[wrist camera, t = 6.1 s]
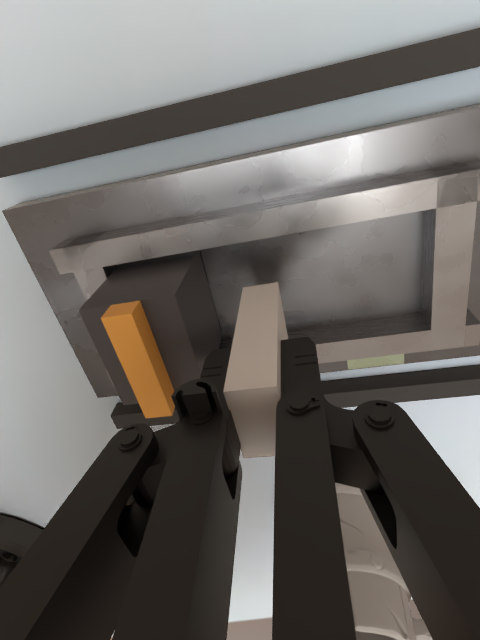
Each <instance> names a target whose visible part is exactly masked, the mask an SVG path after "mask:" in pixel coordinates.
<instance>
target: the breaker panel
mask: <svg viewBox="0 0 480 640" xmlns="http://www.w3.org/2000/svg"><path fill="white" fill-rule="evenodd" d="M2 212H3V214H4V216H5V218H6V220H7V221H8V223H9V225H10V227H11V229H12V231H13V233H14V235H15V237H16V239H17V241H18V243H19V245H20V247H21V249H22V251H23V253H24V255H25V257H26V259H27V260H28V262H29V264H30V266H31V268H32V270H33V272H34V274H35V276H36V278H37V280H38V282H39V284H40V286H41V288H42V290H43V292H44V294H45V296H46V298H47V299H48V301H49V303H50V305H51V307H52V309H53V311H54V313H55V315H56V317H57V319H58V321H59V323H60V325H61V327H62V329H63V331H64V333H65V335H66V337H67V338H68V340H69V342H70V344H71V346H72V348H73V350H74V352H75V354H76V356H77V358H78V360H79V362H80V364H81V366H82V368H83V370H84V372H85V374H86V376H87V377H88V379H89V381H90V383H91V385H92V387H93V389H94V391H95V393H96V395H97V397H98V398H99V397H108V396H117V395H118V393H117V391H116V389H115V387H114V385H113V382H112V380H111V378H110V376H109V374H108V372H107V370H106V368H105V366H104V364H103V361H102V359H101V357H100V355H99V353H98V351H97V349H96V347H95V345H94V343H93V340H92V338H91V336H90V334H89V332H88V330H87V328H86V326H85V324H84V322H83V319H82V317H81V315H80V313H79V311H78V310H79V309H80V308H81V306H82V305H83V304H84V303H85V302H86V301H87V300H88V299H89V298H90V297H91V296H92V294H93V293H94V292H95V291H96V290H97V289H98V288H99V287H100V286H101V285H102V284H103V282H104V281H105V280H106V279H107V278H108V277H109V276H110V275H111V274H112V273H113V271H114V270H115V269H116V268H117V267H118V266H119V265H120V264H123V263H128V262H134V261H140V260H145V259H151V258H157V257H162V256H168V255H174V254H179V253H185V252H191V251H196V250H199V252H200V256H201V259H202V263H203V267H204V270H205V274H206V278H207V281H208V285H209V288H210V292H211V296H212V299H213V303H214V307H215V310H216V314H217V318H218V321H219V325H220V328H221V332H222V337H221V341H220V346H219V349H224V348H232V343H233V338H234V332H235V327H236V322H237V316H238V311H239V306H240V300H241V295H242V290H243V287H250V286H256V285H262V284H269V283H275V282H278V285H279V290H280V296H281V301H282V307H283V312H284V318H285V323H286V329H287V334H288V339H294V338H302V337H309V338H310V339H311V340H312V341H313V342H314V343H315V344H316V351H317V358H318V365H319V372H320V373H325V372H334V371H343V370H352V369H361V368H370V367H379V366H388V365H397V364H406V363H415V362H424V361H433V360H442V359H451V358H460V357H469V356H478V355H480V104H475V105H471V106H466V107H462V108H457V109H452V110H448V111H443V112H439V113H434V114H429V115H425V116H420V117H416V118H411V119H406V120H402V121H397V122H392V123H388V124H383V125H379V126H374V127H369V128H365V129H360V130H356V131H351V132H346V133H342V134H337V135H332V136H328V137H323V138H319V139H314V140H309V141H305V142H300V143H296V144H291V145H286V146H282V147H277V148H273V149H268V150H263V151H259V152H254V153H249V154H245V155H240V156H236V157H231V158H226V159H222V160H217V161H213V162H208V163H203V164H199V165H194V166H189V167H185V168H180V169H176V170H171V171H166V172H162V173H157V174H153V175H148V176H143V177H139V178H134V179H129V180H125V181H120V182H116V183H111V184H106V185H102V186H97V187H93V188H88V189H83V190H79V191H74V192H70V193H65V194H60V195H56V196H51V197H46V198H42V199H37V200H33V201H28V202H23V203H19V204H17V205H15V206H12V207H10V208H8V209H5V210H3V211H2Z"/></svg>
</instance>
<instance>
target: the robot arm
mask: <svg viewBox="0 0 480 640" xmlns="http://www.w3.org/2000/svg"><path fill="white" fill-rule="evenodd" d="M202 369H203V370H202V372H201V376H200V377H201V378H200V379H195V380H191V381H188V382H186V383H184V384H182V385H181V386H179V387H178V388H177V389H176V390H175V391H174V393H173V394H172V396H171V398H172V400H173V403H174V405H175V408H176V410H177V413H178V415H179V421H178V423H176V424H174V425H172V426H169V427H167V428H164V429H161V430H158V431H155V432H153V430H152V429H151V428H150V426H149V425H146V424H143V423H142V424H133V425H130V426H127V427H125V428H123V429H122V430H120V431H119V432H118V433H117V434H116V435H115V436H114V437H113V438H112V439H111V440H110V441H109V443H108V444H107V445H106V447H105V448H104V449H103V451H102V452H101V453H100V455H99V456H98V457H97V459H96V460H95V461H94V463H93V464H92V465H91V467H90V468H89V469H88V471H87V472H86V473H85V475H84V476H83V477H82V479H81V480H80V481H79V483H78V484H77V485H76V487H75V488H74V489H73V491H72V492H71V493H70V495H69V496H68V498H67V499H66V500H65V502H64V503H63V504H62V506H61V507H60V508H59V510H58V511H57V512H56V514H55V515H54V516H53V518H52V519H51V520H50V522H49V523H48V524H47V526H46V527H45V528H44V530H42V529H40V528H38V527H35V526H33V525H31V524H28V523H26V522H23V521H20V520H17V519H14V518H11V517H7V516H3V515H0V640H110V639H111V637H112V635H113V633H114V635H113V639H112V640H226V638H227V628H228V617H229V607H230V596H231V586H232V575H233V565H234V554H235V544H236V533H237V523H238V512H239V502H240V491H241V481H242V468H241V465H240V461H239V455H240V448H241V451H242V454H243V458H253V457H266V456H275V502H274V563H273V627H272V640H357V639H356V632H355V624H354V617H353V610H352V603H351V595H350V588H349V581H348V573H347V566H346V559H345V552H344V544H343V537H342V530H341V522H340V515H339V508H338V501H337V493H336V486H335V483H339V484H343V485H347V486H351V487H355V488H359V489H360V491H361V493H362V496H363V498H364V500H365V502H366V504H367V506H368V508H369V510H370V512H371V514H372V516H373V518H374V520H375V522H376V524H377V526H378V528H379V530H380V532H381V535H382V537H383V539H384V541H385V543H386V545H387V547H388V549H389V551H390V553H391V555H392V557H393V559H394V561H395V563H396V565H397V567H398V569H399V571H400V574H401V576H402V578H403V580H404V582H405V584H406V586H407V588H408V590H409V592H410V594H411V596H412V598H413V600H414V602H415V604H416V606H417V608H418V611H419V612H420V615H421V617H422V619H423V621H424V623H425V625H426V627H427V629H428V631H429V633H430V635H431V637H432V639H433V640H480V508H479V507H478V505H477V504H476V503H475V502H474V500H473V499H472V498H471V496H470V495H469V494H468V492H467V491H466V490H465V489H464V487H463V486H462V485H461V483H460V482H459V481H458V479H457V478H456V477H455V476H454V474H453V473H452V472H451V470H450V469H449V468H448V466H447V465H446V464H445V463H444V461H443V460H442V459H441V457H440V456H439V455H438V453H437V452H436V451H435V450H434V448H433V447H432V446H431V444H430V443H429V442H428V440H427V439H426V438H425V437H424V435H423V434H422V433H421V431H420V430H419V429H418V428H417V426H416V425H415V424H414V422H413V421H412V420H411V418H410V417H409V416H408V415H407V413H406V412H405V411H404V410H403V409H402V408H401V407H400V406H398V405H397V404H394V403H392V402H390V401H384V400H371V401H367V402H365V403H362V404H360V405H359V406H358V407H357V408H356V409H355V410H354V411H353V410H347V409H342V408H338V407H336V406H334V405H332V404H331V403H329V402H328V401H327V400H326V399H325V397H324V395H323V392H322V386H321V379H320V372H319V365H318V358H317V351H316V344H315V343H314V342H313V341H312V340H311V339H310V338H309V337H302V338H294V339H288V334H287V329H286V323H285V318H284V312H283V307H282V301H281V296H280V290H279V285H278V282H275V283H269V284H262V285H256V286H250V287H243V290H242V295H241V300H240V306H239V311H238V316H237V322H236V327H235V332H234V338H233V343H232V348H224V349H216V350H212V351H211V353H210V354H209V355H208V356H207V357H206V359H205V361H204V365H203V368H202ZM114 631H115V632H114Z"/></svg>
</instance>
